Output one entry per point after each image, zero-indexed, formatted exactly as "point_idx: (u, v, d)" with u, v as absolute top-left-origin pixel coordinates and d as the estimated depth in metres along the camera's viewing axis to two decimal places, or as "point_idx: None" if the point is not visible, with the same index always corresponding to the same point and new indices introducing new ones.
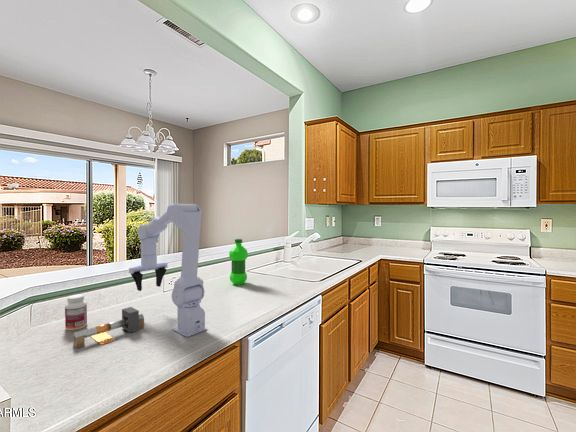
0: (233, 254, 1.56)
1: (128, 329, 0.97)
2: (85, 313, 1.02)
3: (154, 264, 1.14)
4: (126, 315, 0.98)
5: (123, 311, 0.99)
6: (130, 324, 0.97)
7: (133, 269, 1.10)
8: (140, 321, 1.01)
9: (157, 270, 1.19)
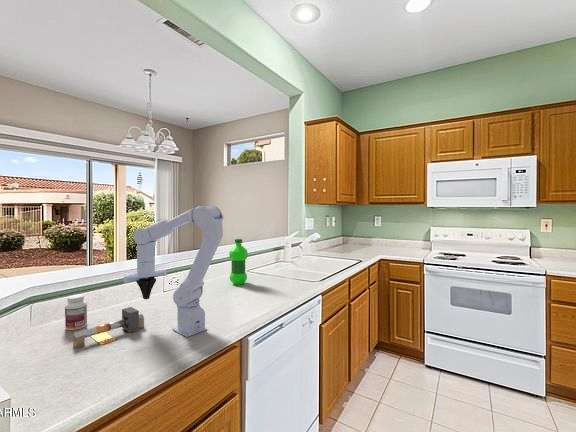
0: (233, 254, 1.56)
1: (128, 329, 0.97)
2: (85, 313, 1.02)
3: (152, 272, 1.02)
4: (126, 315, 0.98)
5: (123, 311, 0.99)
6: (130, 324, 0.97)
7: (128, 278, 0.98)
8: (140, 321, 1.01)
9: None
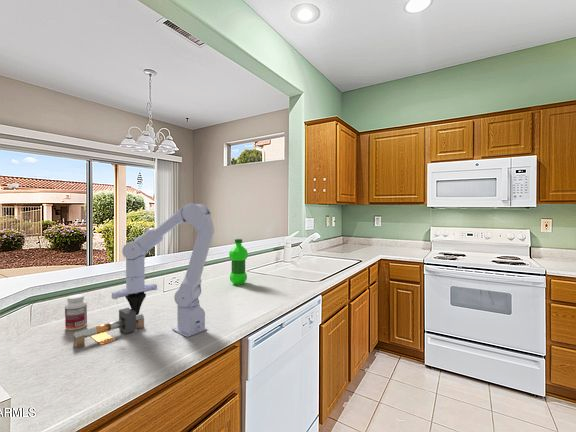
0: (233, 254, 1.56)
1: (125, 330, 0.96)
2: (85, 313, 1.02)
3: (141, 287, 1.00)
4: (123, 316, 0.97)
5: (120, 312, 0.99)
6: (127, 325, 0.96)
7: (116, 294, 0.95)
8: (140, 321, 1.01)
9: None
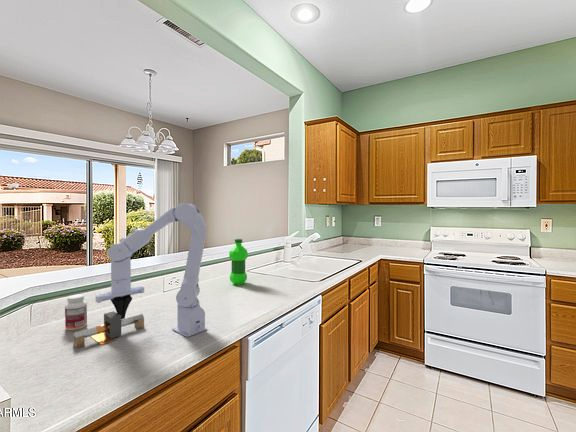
0: (233, 254, 1.56)
1: (110, 335, 0.93)
2: (85, 313, 1.02)
3: (127, 290, 0.96)
4: (108, 320, 0.93)
5: (105, 316, 0.95)
6: (112, 329, 0.92)
7: (100, 297, 0.91)
8: (140, 321, 1.01)
9: None
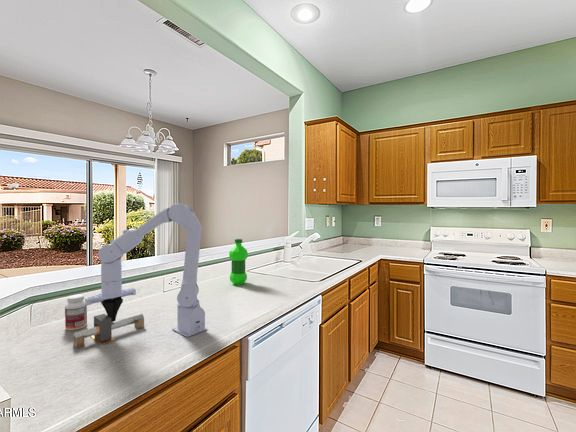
0: (233, 254, 1.56)
1: (99, 338, 0.90)
2: (85, 313, 1.02)
3: (118, 292, 0.94)
4: (98, 323, 0.91)
5: (95, 318, 0.93)
6: (101, 333, 0.90)
7: (90, 300, 0.89)
8: (140, 321, 1.01)
9: None
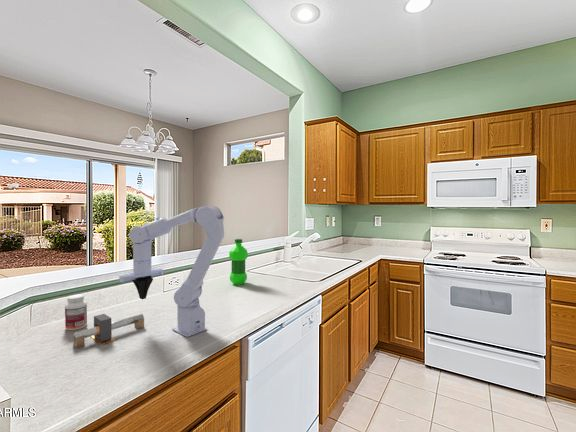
0: (233, 254, 1.56)
1: (99, 338, 0.90)
2: (85, 313, 1.02)
3: (148, 271, 1.00)
4: (98, 323, 0.91)
5: (95, 318, 0.93)
6: (101, 333, 0.90)
7: (124, 277, 0.96)
8: (140, 321, 1.01)
9: None
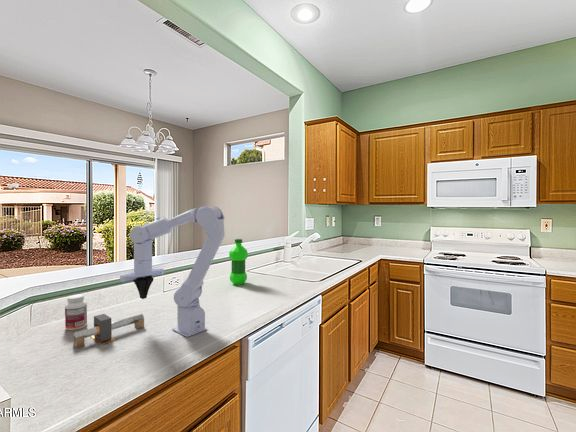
0: (233, 254, 1.56)
1: (99, 338, 0.90)
2: (85, 313, 1.02)
3: (149, 271, 1.01)
4: (98, 323, 0.91)
5: (95, 318, 0.93)
6: (101, 333, 0.90)
7: (125, 277, 0.96)
8: (140, 321, 1.01)
9: None
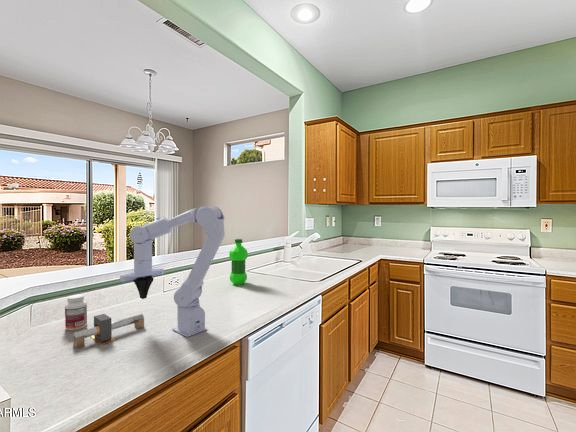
0: (233, 254, 1.56)
1: (99, 338, 0.90)
2: (85, 313, 1.02)
3: (149, 271, 1.01)
4: (98, 323, 0.91)
5: (95, 318, 0.93)
6: (101, 333, 0.90)
7: (125, 277, 0.96)
8: (140, 321, 1.01)
9: None
